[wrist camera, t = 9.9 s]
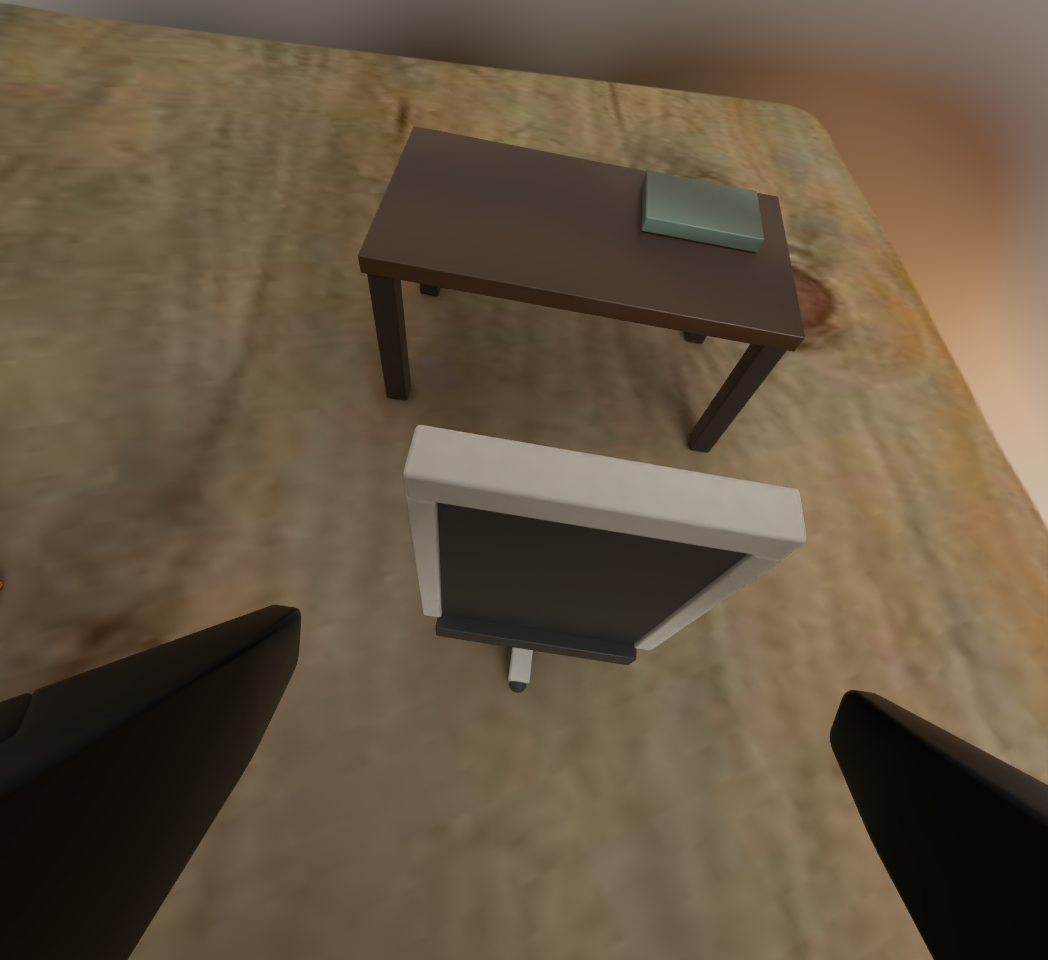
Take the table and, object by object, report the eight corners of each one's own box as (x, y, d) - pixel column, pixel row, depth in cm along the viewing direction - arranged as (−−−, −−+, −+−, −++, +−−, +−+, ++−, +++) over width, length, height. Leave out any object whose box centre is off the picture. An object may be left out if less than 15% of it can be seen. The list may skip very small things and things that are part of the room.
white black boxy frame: (618, 709, 19) (844, 603, 8) (411, 677, 18) (358, 524, 8) (624, 522, 22) (785, 277, 12) (451, 494, 22) (453, 215, 11)
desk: (711, 456, 25) (816, 324, 18) (382, 399, 24) (354, 239, 17) (704, 330, 29) (786, 181, 22) (421, 279, 28) (412, 108, 21)
